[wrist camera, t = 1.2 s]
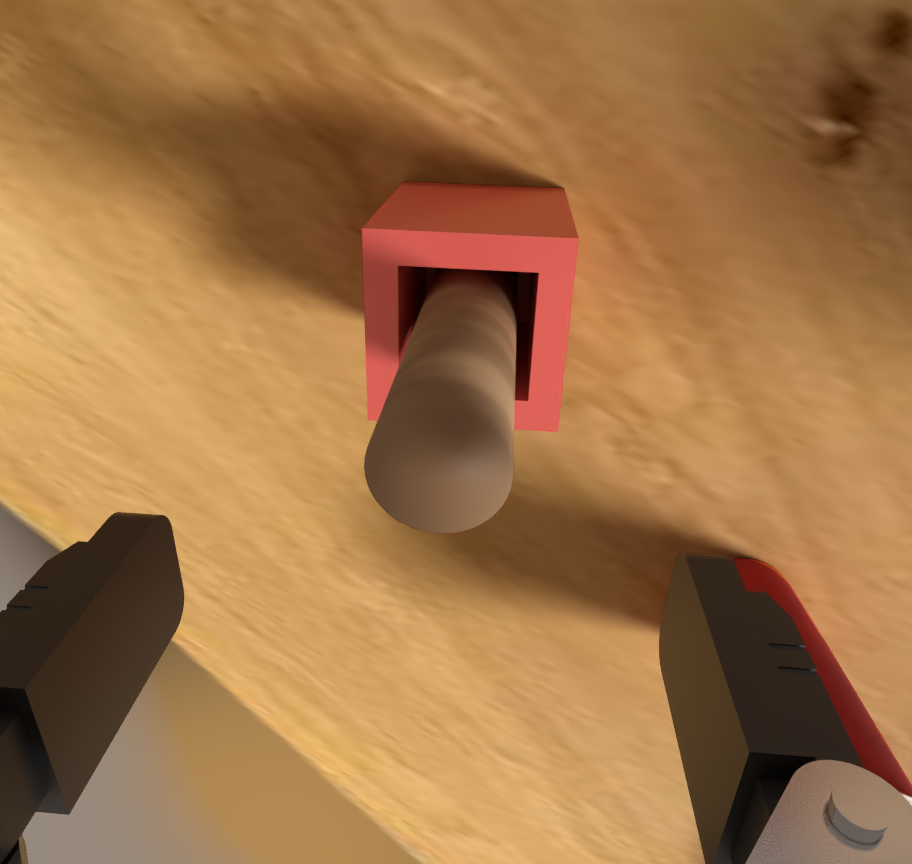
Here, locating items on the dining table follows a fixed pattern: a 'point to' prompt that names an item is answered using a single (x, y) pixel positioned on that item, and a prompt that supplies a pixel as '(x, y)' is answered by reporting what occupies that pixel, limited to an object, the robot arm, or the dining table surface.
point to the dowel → (451, 407)
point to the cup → (481, 248)
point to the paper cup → (829, 676)
